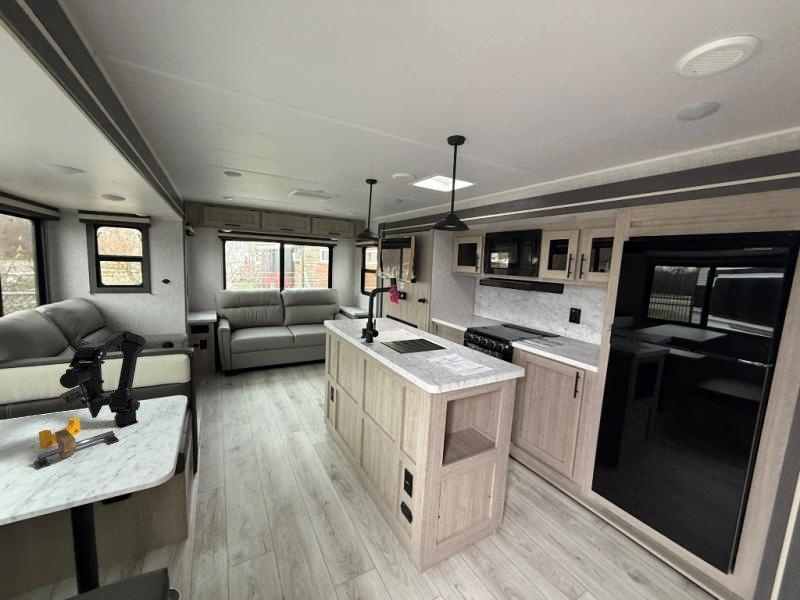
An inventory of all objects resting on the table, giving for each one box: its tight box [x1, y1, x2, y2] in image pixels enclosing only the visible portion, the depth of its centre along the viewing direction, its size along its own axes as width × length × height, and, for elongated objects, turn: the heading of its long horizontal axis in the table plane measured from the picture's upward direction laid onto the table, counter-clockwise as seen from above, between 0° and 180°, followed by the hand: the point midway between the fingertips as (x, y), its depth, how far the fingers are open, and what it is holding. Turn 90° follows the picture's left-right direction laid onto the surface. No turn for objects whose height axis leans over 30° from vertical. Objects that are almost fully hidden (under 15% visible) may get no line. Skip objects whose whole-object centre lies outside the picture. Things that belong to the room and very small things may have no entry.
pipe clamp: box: [38, 417, 81, 449], centre depth 128 cm, size 12×4×6 cm, turn 173°
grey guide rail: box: [33, 430, 120, 470], centre depth 121 cm, size 22×6×4 cm, turn 147°
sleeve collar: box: [54, 429, 77, 459], centre depth 118 cm, size 3×12×7 cm, turn 57°
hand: (94, 417), depth 124 cm, fingers closed
